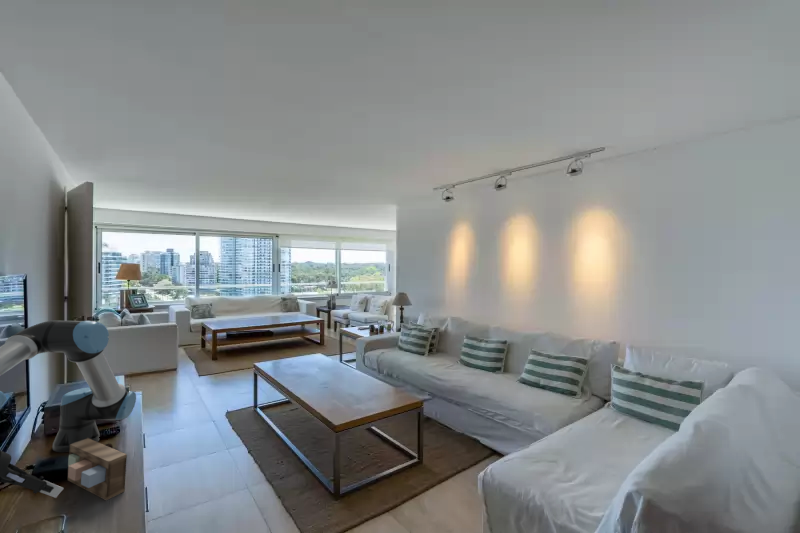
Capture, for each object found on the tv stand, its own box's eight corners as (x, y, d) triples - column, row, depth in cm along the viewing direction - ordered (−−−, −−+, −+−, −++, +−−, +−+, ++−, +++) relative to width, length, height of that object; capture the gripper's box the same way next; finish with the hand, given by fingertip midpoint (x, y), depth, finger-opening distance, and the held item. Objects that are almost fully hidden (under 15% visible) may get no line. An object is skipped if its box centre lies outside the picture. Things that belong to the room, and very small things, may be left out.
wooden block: (67, 480, 130) (69, 444, 130) (85, 472, 135) (88, 438, 135) (106, 500, 121) (108, 461, 121) (124, 491, 126) (126, 454, 126)
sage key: (68, 466, 129) (68, 455, 129) (84, 459, 133) (85, 449, 133) (74, 469, 127) (75, 458, 127) (91, 462, 131) (92, 452, 132)
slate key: (80, 484, 119) (81, 472, 119) (98, 476, 124) (99, 464, 124) (88, 488, 117) (89, 475, 117) (106, 480, 122) (106, 468, 122)
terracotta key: (67, 477, 122) (68, 465, 122) (85, 470, 127) (86, 458, 127) (75, 481, 120) (75, 469, 120) (92, 473, 125) (93, 462, 125)
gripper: (-43, 471, 97) (36, 499, 112) (-22, 486, 91) (58, 512, 106) (-13, 443, 101) (59, 473, 117) (9, 455, 96) (81, 485, 111)
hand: (58, 492), depth 111 cm, fingers closed
